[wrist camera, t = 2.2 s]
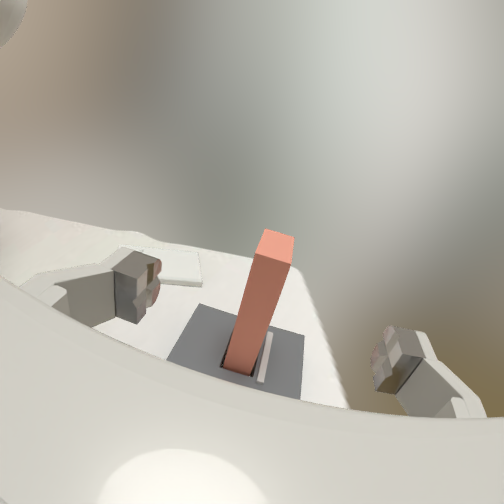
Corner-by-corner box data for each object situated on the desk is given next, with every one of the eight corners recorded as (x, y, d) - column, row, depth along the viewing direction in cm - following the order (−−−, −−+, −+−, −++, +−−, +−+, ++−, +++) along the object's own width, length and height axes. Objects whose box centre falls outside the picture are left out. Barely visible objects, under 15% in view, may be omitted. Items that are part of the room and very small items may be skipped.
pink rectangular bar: (218, 382, 26) (255, 253, 20) (230, 348, 30) (265, 228, 24) (243, 389, 26) (291, 263, 20) (253, 355, 30) (294, 237, 24)
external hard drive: (200, 291, 39) (110, 282, 35) (196, 260, 46) (119, 251, 42) (202, 281, 39) (109, 271, 35) (198, 251, 46) (119, 242, 42)
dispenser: (161, 383, 24) (162, 363, 22) (196, 320, 33) (199, 300, 32) (289, 422, 23) (301, 405, 22) (296, 351, 32) (305, 332, 31)
